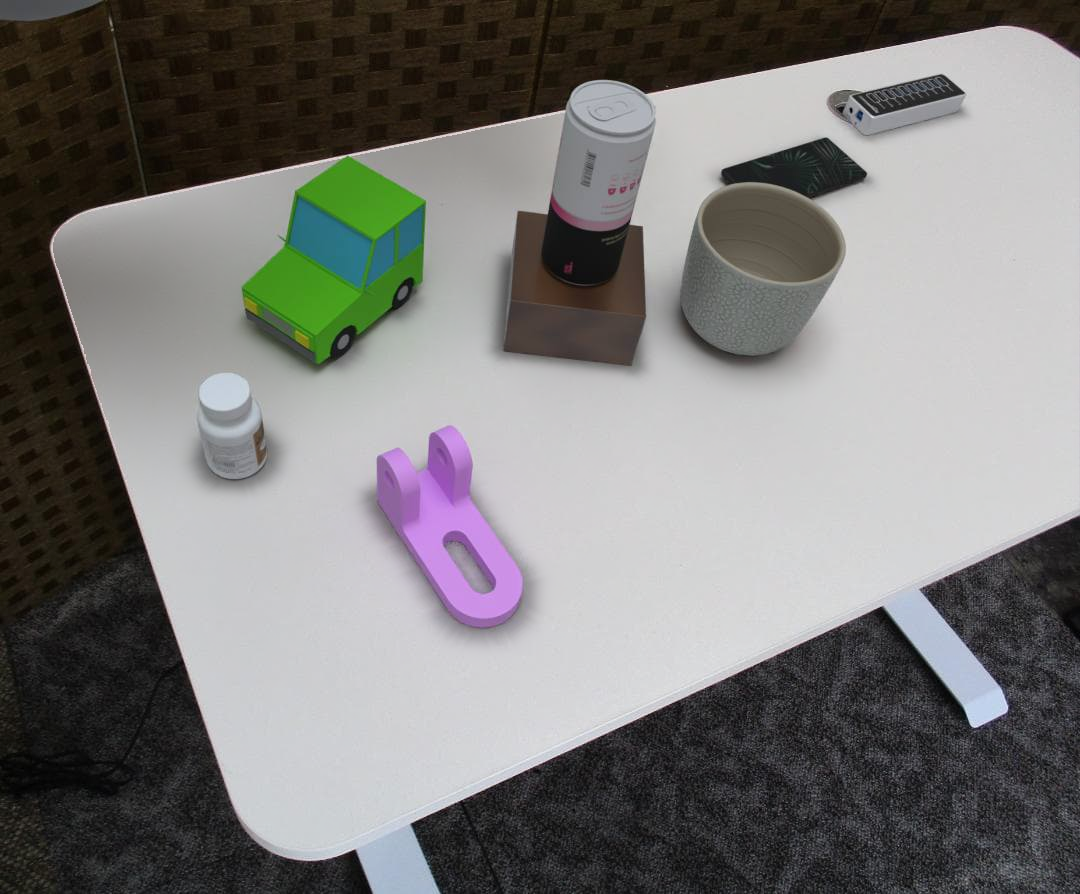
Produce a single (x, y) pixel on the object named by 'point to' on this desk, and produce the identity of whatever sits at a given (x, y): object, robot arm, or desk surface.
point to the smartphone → (800, 168)
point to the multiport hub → (903, 104)
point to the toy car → (339, 261)
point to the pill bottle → (231, 426)
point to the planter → (758, 266)
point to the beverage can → (596, 180)
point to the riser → (573, 302)
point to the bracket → (448, 528)
